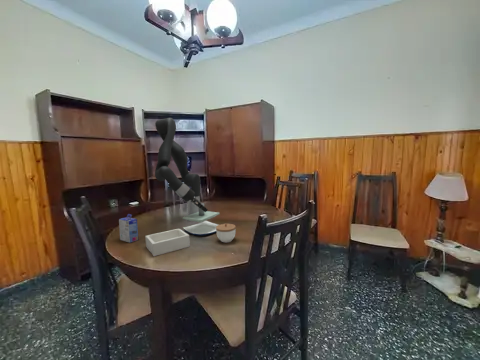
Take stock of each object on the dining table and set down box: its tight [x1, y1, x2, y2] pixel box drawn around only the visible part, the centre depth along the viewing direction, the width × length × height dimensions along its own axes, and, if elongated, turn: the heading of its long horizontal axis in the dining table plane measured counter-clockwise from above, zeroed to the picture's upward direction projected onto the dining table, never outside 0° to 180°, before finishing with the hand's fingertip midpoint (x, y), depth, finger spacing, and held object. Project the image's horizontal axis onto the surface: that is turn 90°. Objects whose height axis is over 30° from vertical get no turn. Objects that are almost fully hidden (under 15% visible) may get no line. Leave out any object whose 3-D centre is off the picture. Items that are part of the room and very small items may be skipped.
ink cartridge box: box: [118, 213, 139, 243], centre depth 128 cm, size 10×6×14 cm, turn 58°
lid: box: [182, 202, 221, 223], centre depth 140 cm, size 18×14×9 cm
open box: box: [144, 228, 191, 257], centre depth 118 cm, size 18×14×6 cm
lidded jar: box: [215, 223, 237, 243], centre depth 124 cm, size 11×11×9 cm
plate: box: [182, 220, 219, 237], centre depth 142 cm, size 20×20×3 cm
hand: (205, 210), depth 141 cm, fingers closed on lid, 3 cm apart
